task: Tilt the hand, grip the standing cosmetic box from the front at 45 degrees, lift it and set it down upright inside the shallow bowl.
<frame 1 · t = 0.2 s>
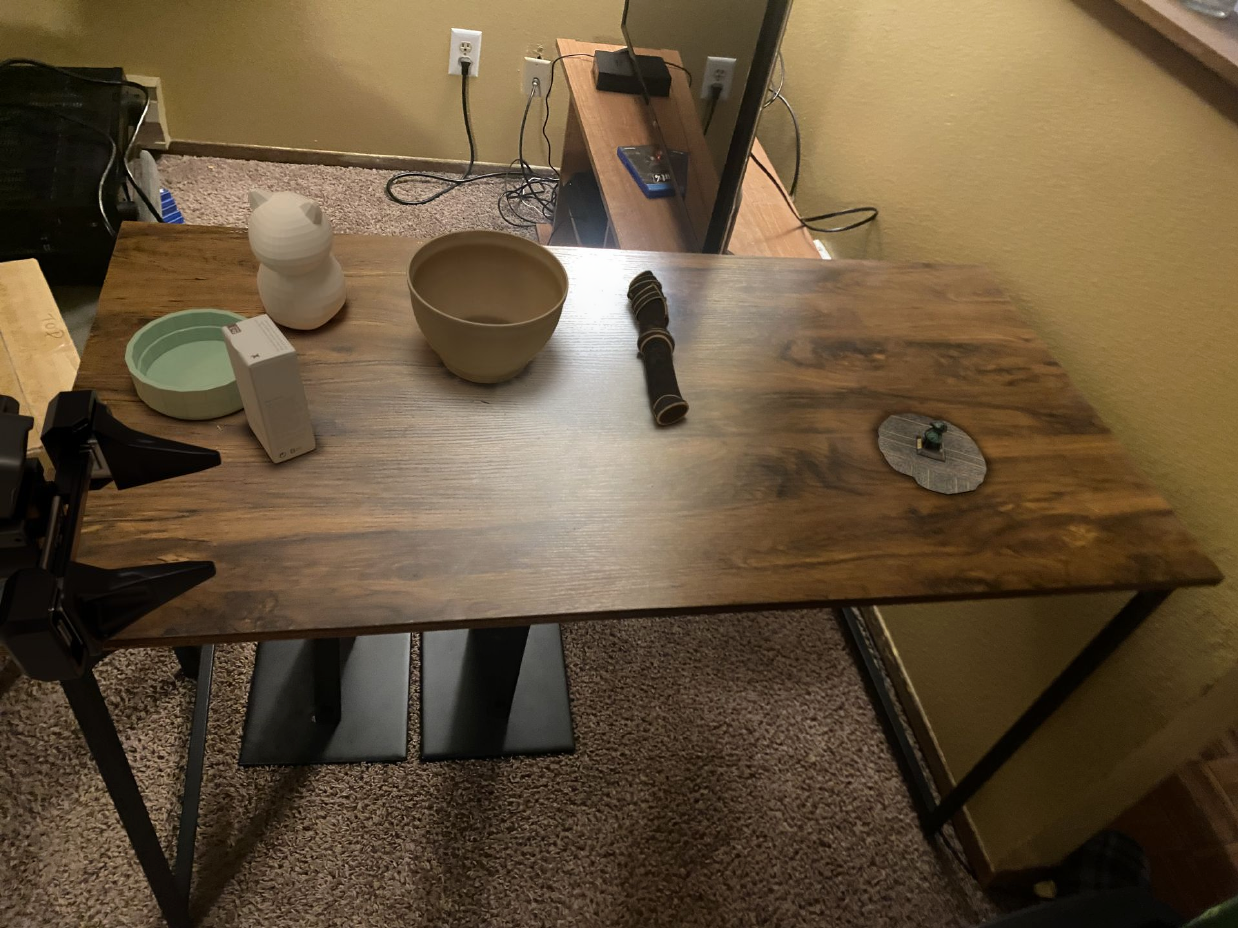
hand: (217, 509, 54), 16 cm above the table, tool horizontal, fingers open, 9 cm apart
planter bowl: (485, 358, 92), on the table
banded dark tube: (651, 354, 96), on the table
shallow bowl: (205, 378, 83), on the table
cosmetic box: (281, 439, 79), on the table
sculpture: (930, 453, 92), on the table
cat figurine: (309, 308, 93), on the table
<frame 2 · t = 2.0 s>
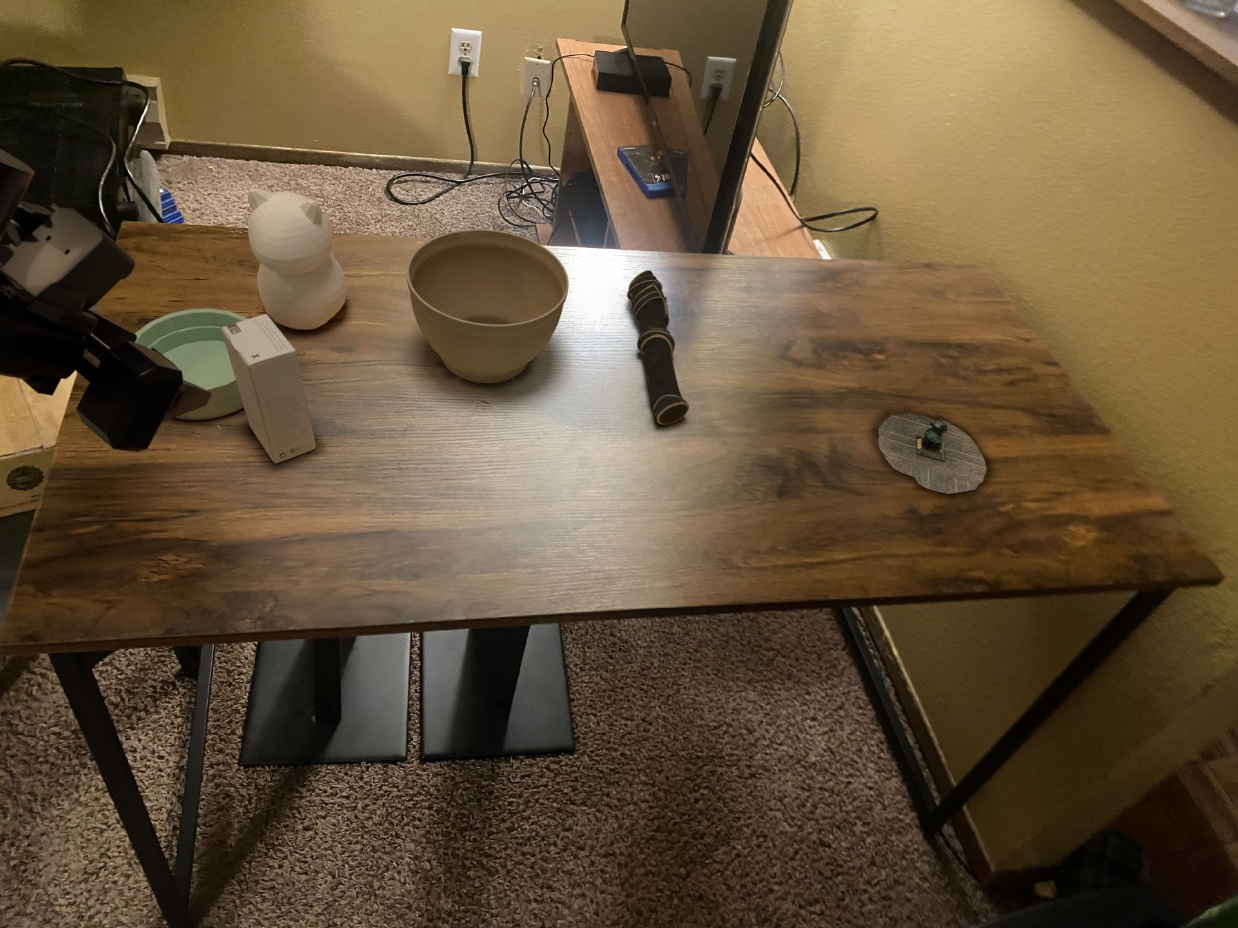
hand: (170, 369, 64), 14 cm above the table, tool tilted 45°, fingers open, 9 cm apart
nothing on the table moved.
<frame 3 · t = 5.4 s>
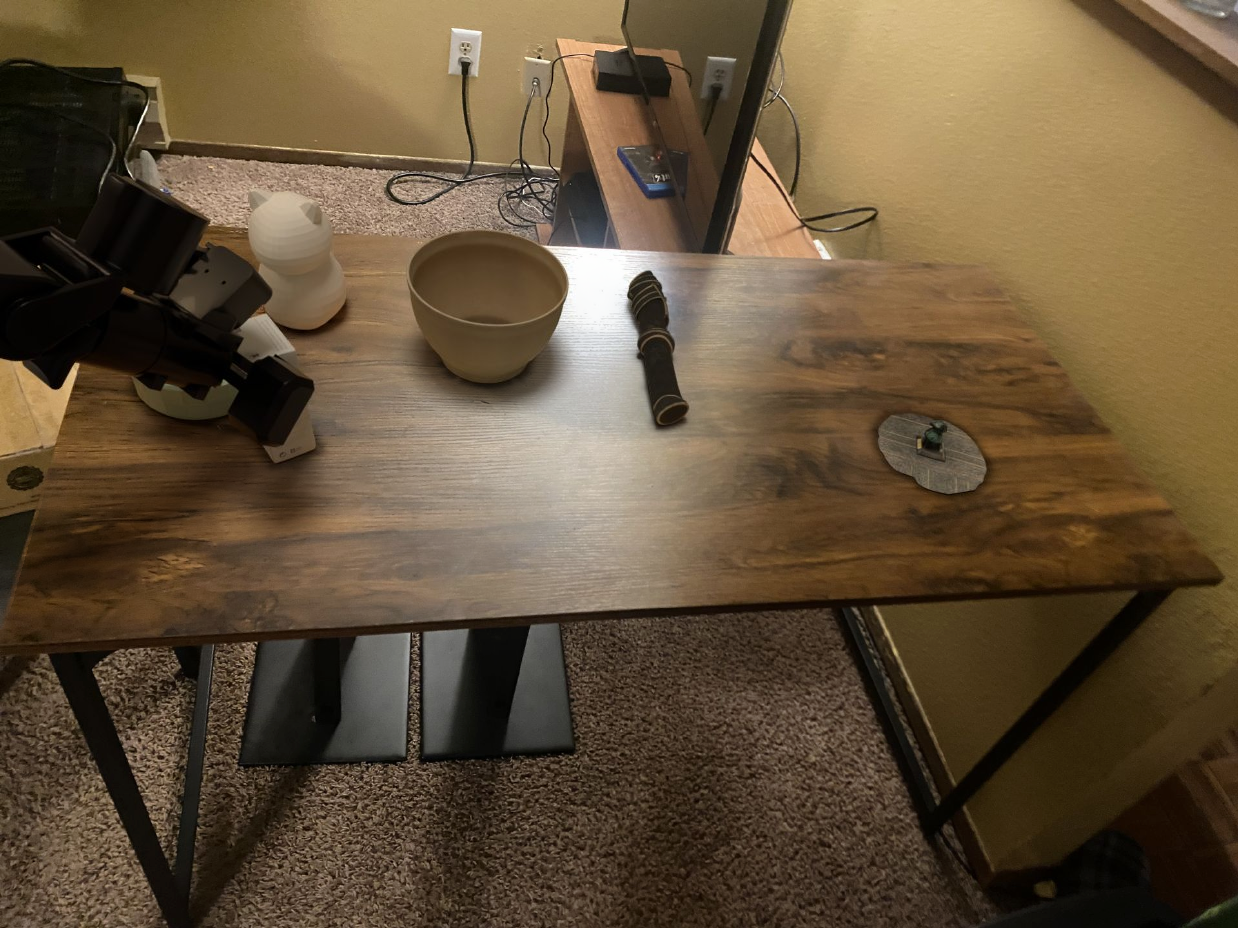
hand: (283, 379, 75), 7 cm above the table, tool tilted 45°, fingers closed on cosmetic box, 6 cm apart
cosmetic box: (281, 438, 79), on the table, touching gripper
everything else where it was.
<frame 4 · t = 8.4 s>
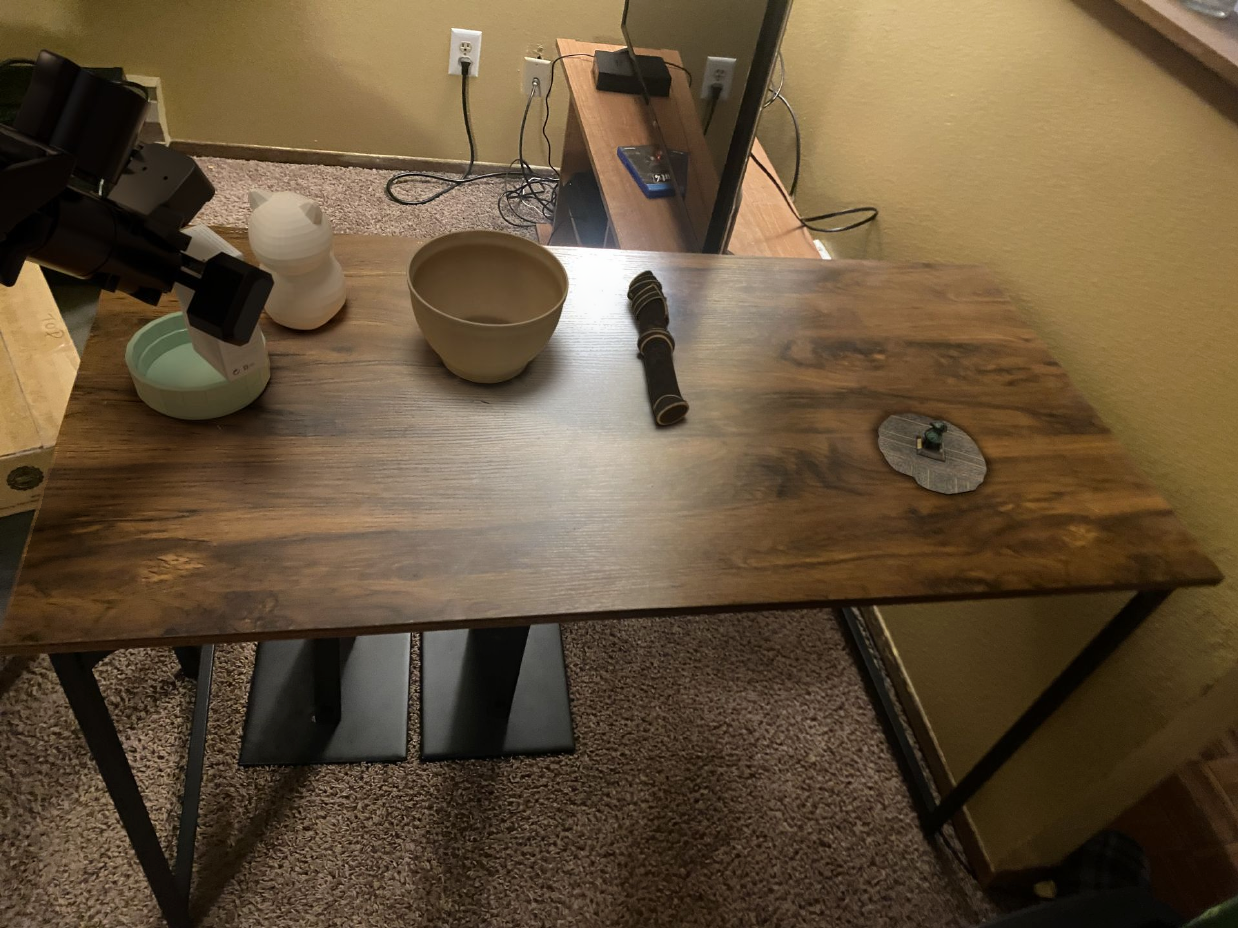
hand: (227, 292, 74), 12 cm above the table, tool tilted 45°, fingers closed on cosmetic box, 6 cm apart
cosmetic box: (229, 359, 77), point 6 cm above the table, touching gripper
everything else where it was.
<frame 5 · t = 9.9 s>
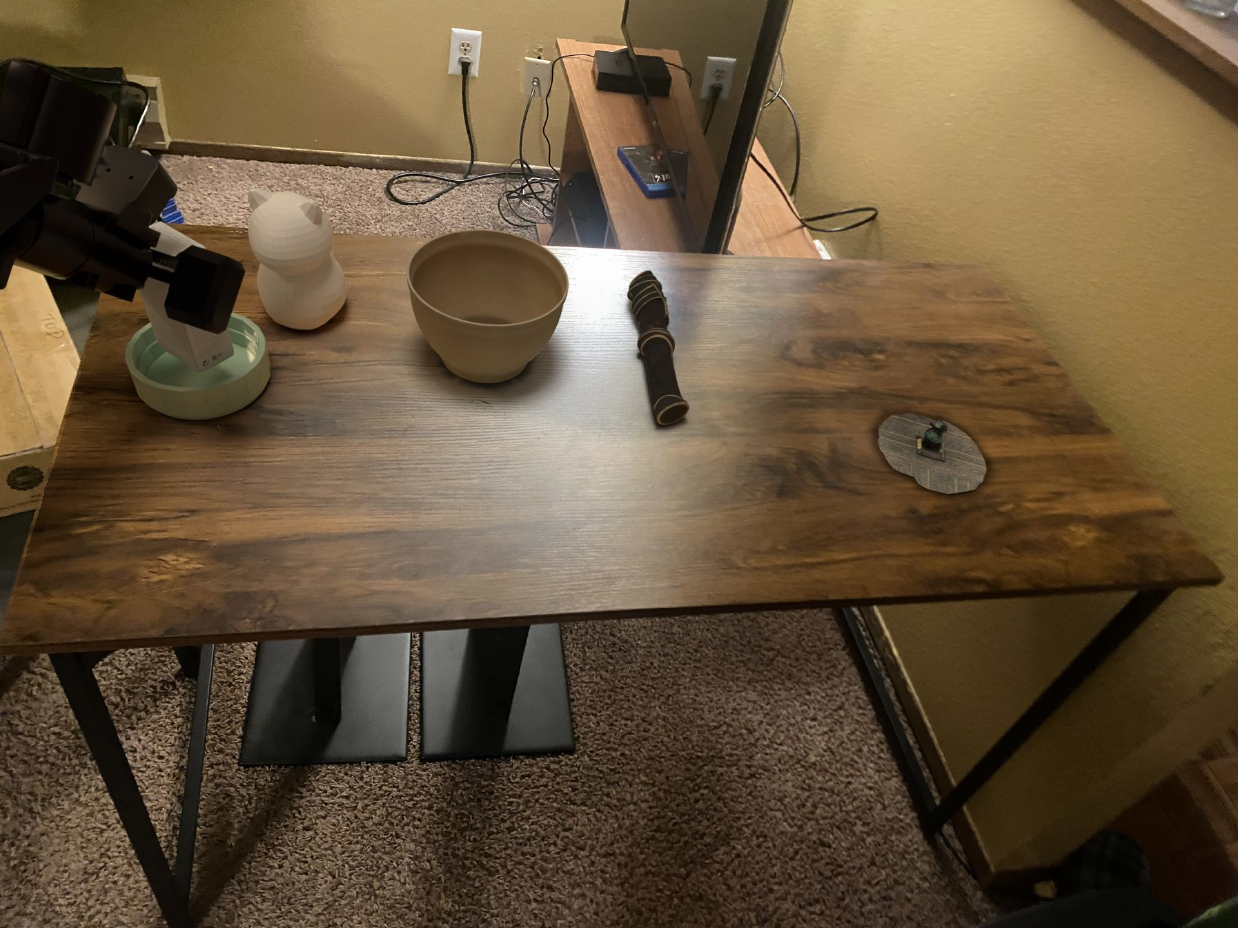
hand: (190, 287, 76), 10 cm above the table, tool tilted 45°, fingers closed on cosmetic box, 6 cm apart
cosmetic box: (195, 353, 80), point 4 cm above the table, touching gripper
everything else where it was.
when the fingers open (7 cm above the table, at t = 11.4 s): cosmetic box stays where it is, resting on shallow bowl.
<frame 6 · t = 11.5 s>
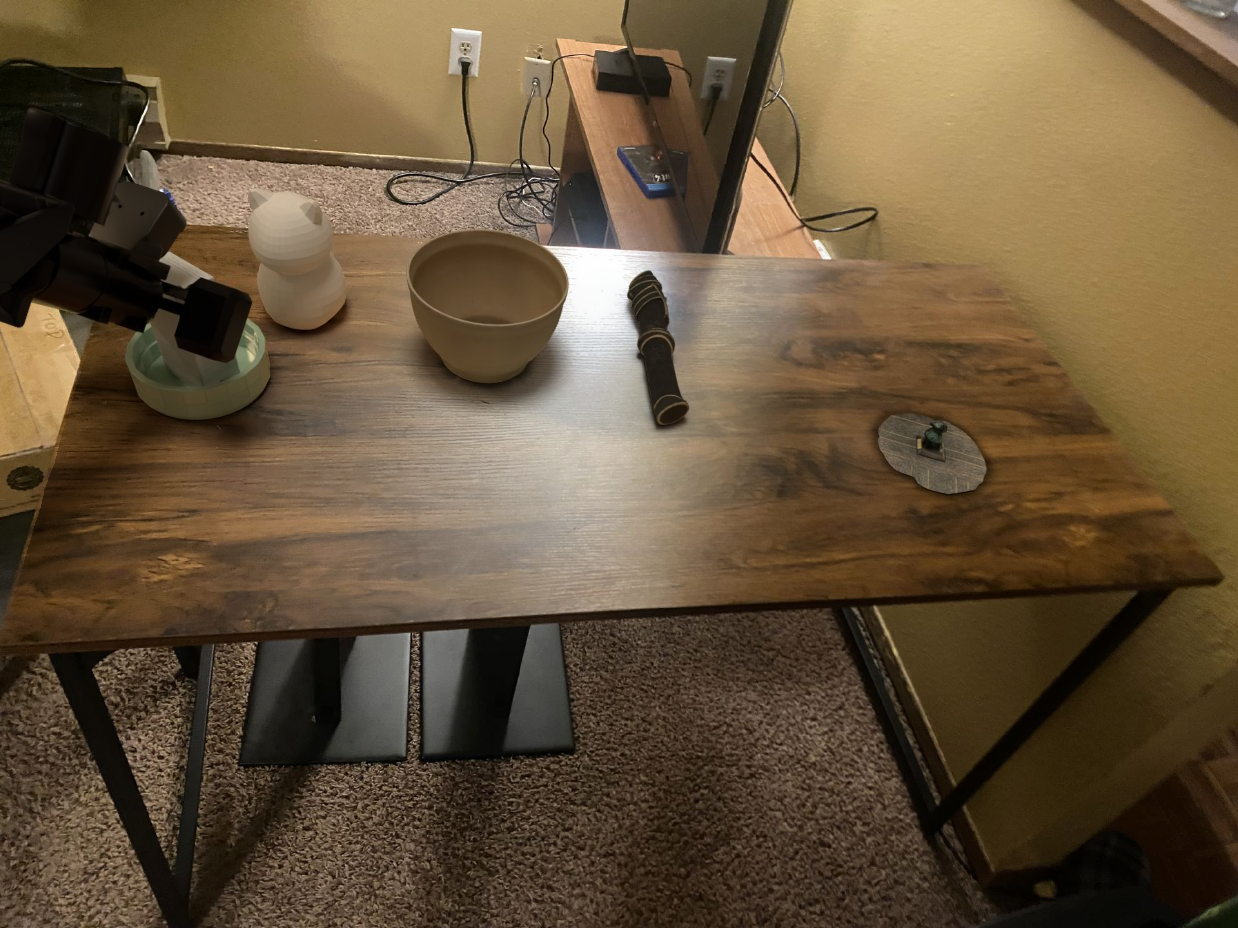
hand: (198, 313, 79), 7 cm above the table, tool tilted 45°, fingers open, 7 cm apart
cosmetic box: (203, 376, 83), resting on shallow bowl
everything else where it was.
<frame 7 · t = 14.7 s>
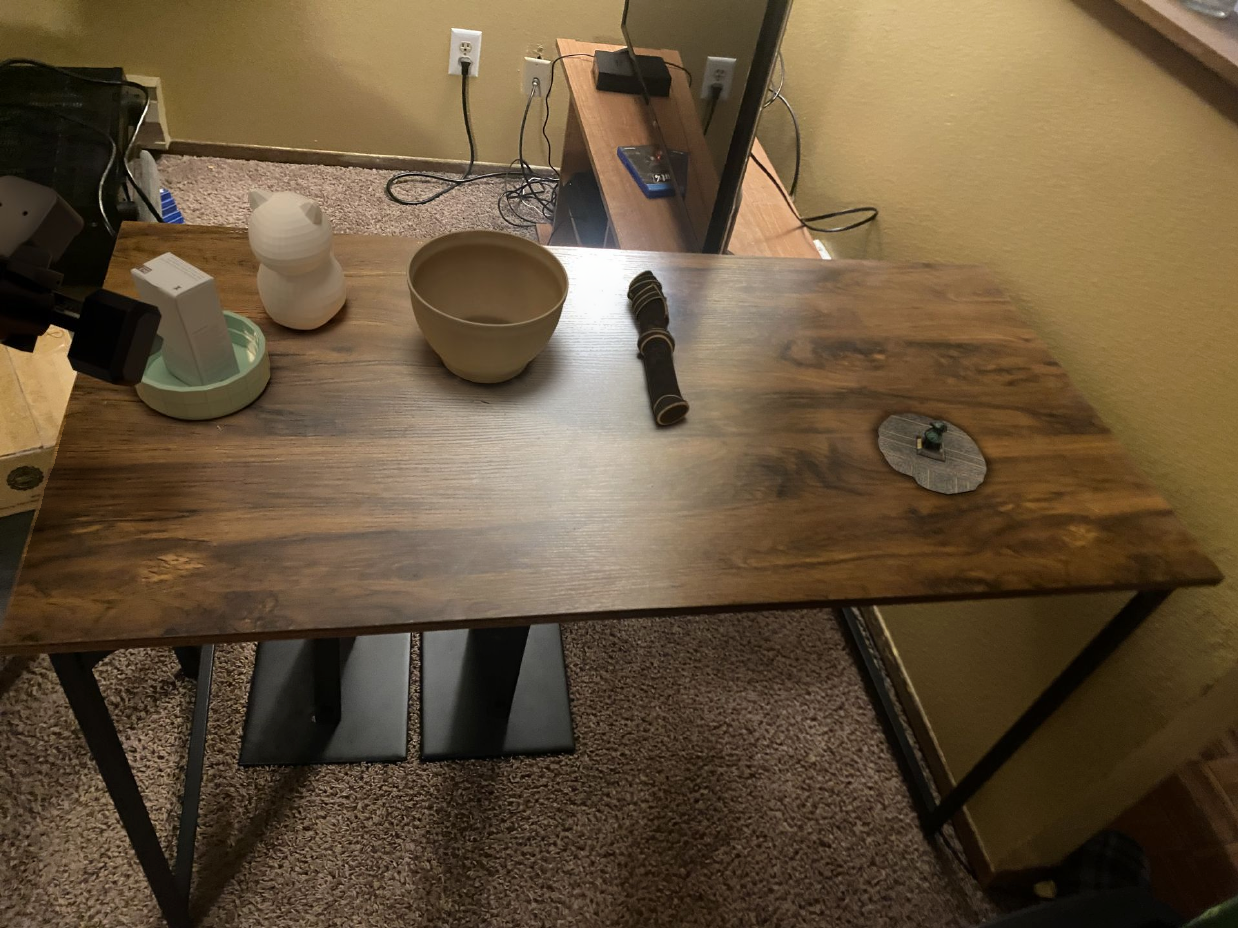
hand: (111, 327, 69), 12 cm above the table, tool tilted 45°, fingers open, 9 cm apart
nothing on the table moved.
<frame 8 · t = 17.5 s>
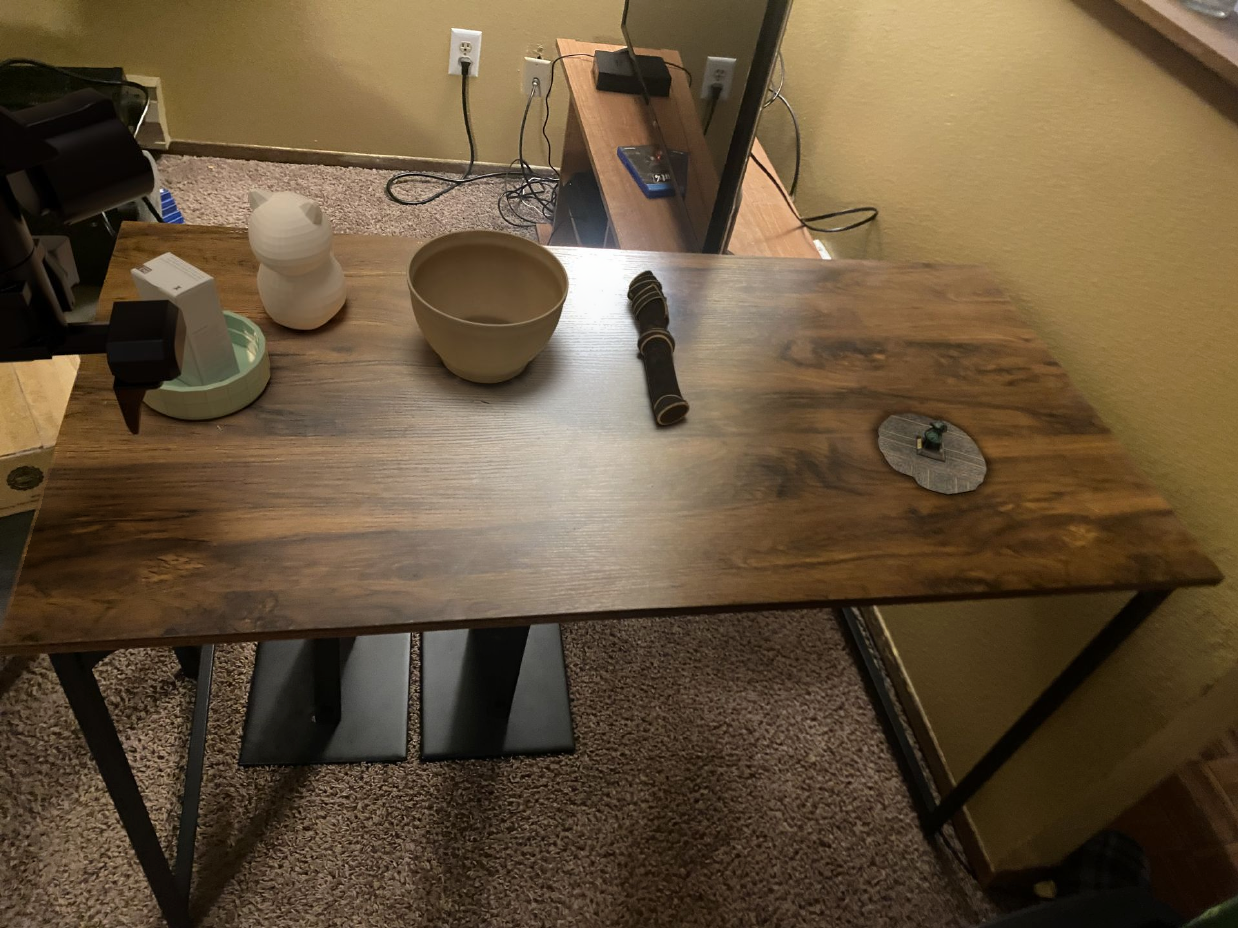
hand: (66, 435, 61), 12 cm above the table, tool pointing down, fingers open, 9 cm apart
nothing on the table moved.
at the end: cosmetic box inside the target area in the shallow bowl (0.1 cm from its centre), point 0.4 cm above the shallow bowl's base; cosmetic box tilted 0° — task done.
